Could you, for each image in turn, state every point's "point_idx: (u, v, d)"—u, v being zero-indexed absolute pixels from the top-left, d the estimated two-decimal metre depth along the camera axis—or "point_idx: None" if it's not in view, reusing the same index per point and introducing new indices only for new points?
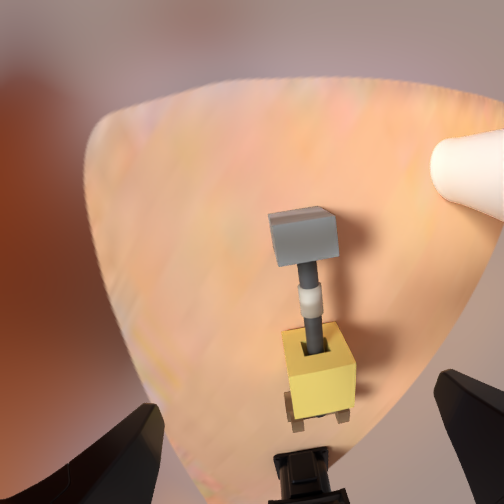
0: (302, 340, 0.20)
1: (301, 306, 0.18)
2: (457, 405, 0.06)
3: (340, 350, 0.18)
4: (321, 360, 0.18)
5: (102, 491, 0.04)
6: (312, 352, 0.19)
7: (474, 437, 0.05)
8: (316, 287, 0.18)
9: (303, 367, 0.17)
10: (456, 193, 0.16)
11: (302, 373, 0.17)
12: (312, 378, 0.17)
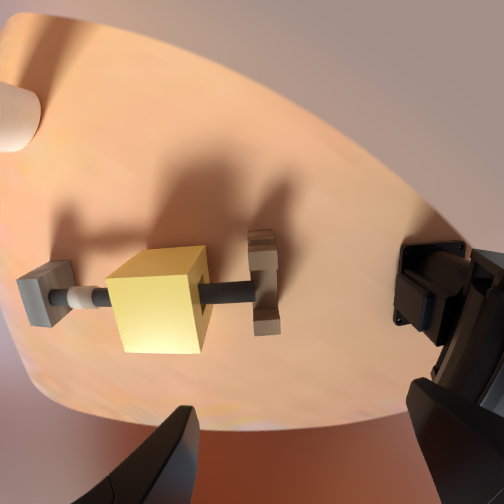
0: None
1: (88, 308, 0.16)
2: (427, 416, 0.06)
3: None
4: None
5: (148, 502, 0.04)
6: None
7: (445, 451, 0.05)
8: (68, 295, 0.16)
9: None
10: (6, 141, 0.13)
11: None
12: (126, 329, 0.14)
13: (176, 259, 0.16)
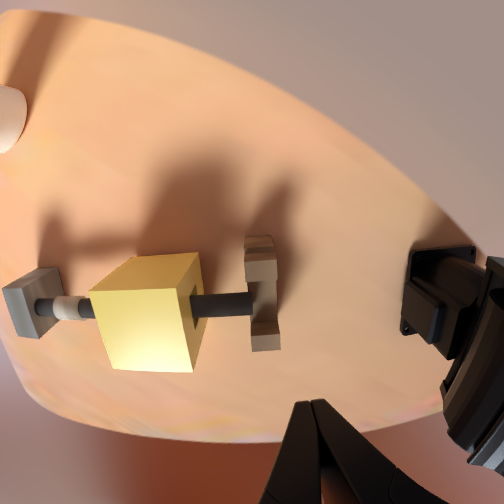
0: None
1: (75, 319, 0.15)
2: None
3: None
4: None
5: None
6: None
7: None
8: (54, 305, 0.14)
9: None
10: None
11: None
12: (112, 345, 0.12)
13: (165, 269, 0.14)
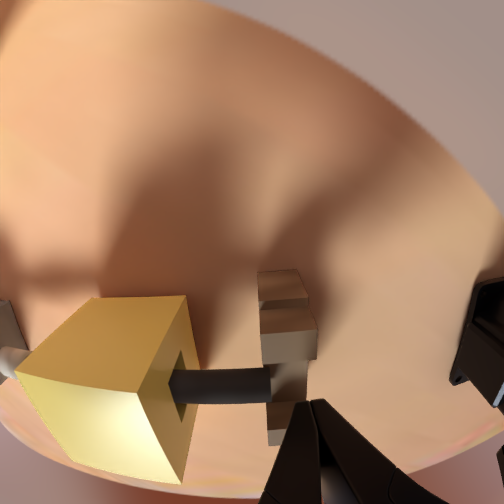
0: None
1: None
2: None
3: None
4: None
5: None
6: None
7: None
8: None
9: None
10: None
11: None
12: (63, 440, 0.06)
13: (129, 335, 0.08)
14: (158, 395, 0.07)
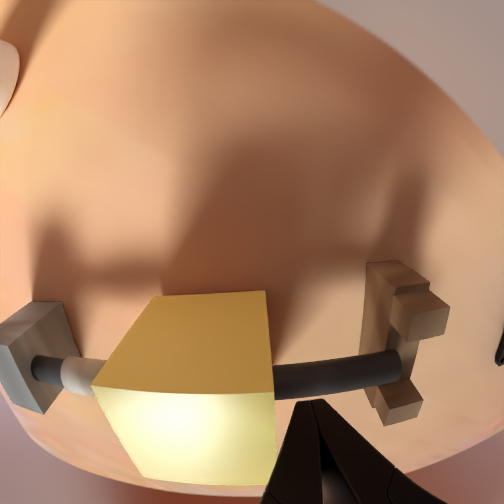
0: None
1: None
2: None
3: None
4: None
5: None
6: None
7: None
8: (63, 374, 0.08)
9: None
10: None
11: None
12: (142, 456, 0.06)
13: (227, 333, 0.08)
14: None
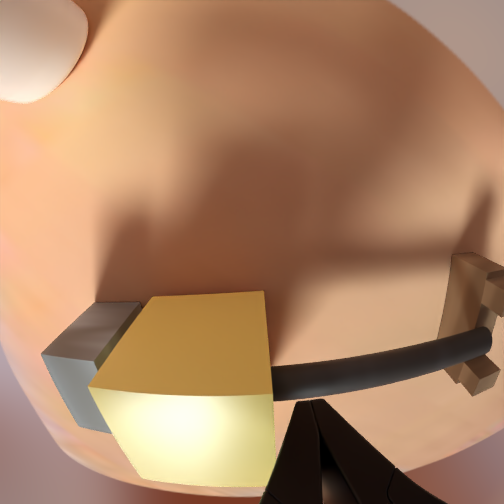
0: None
1: None
2: None
3: None
4: None
5: None
6: (324, 395, 0.08)
7: None
8: None
9: None
10: (18, 68, 0.06)
11: None
12: (140, 458, 0.06)
13: (225, 334, 0.08)
14: None
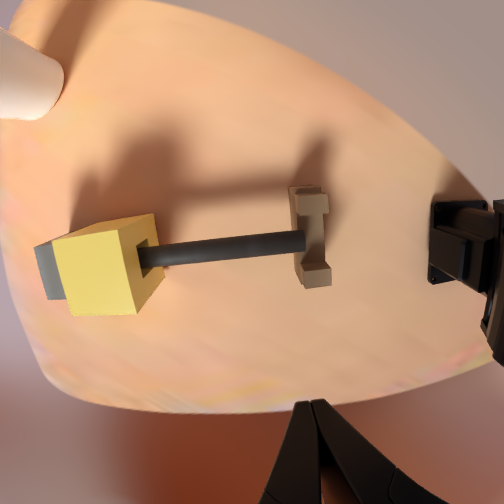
0: None
1: None
2: None
3: None
4: None
5: None
6: (171, 262, 0.15)
7: None
8: None
9: None
10: (28, 104, 0.13)
11: None
12: (70, 291, 0.13)
13: (118, 223, 0.15)
14: (129, 244, 0.14)
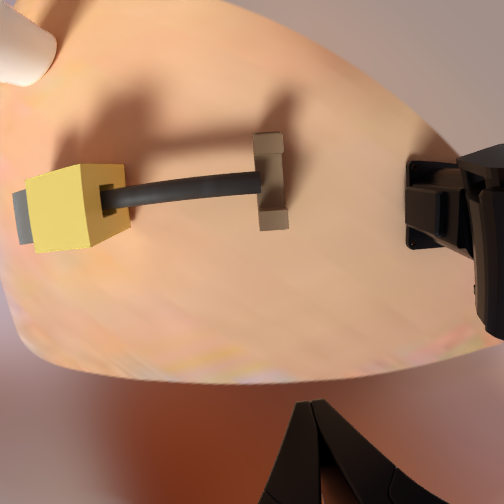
0: None
1: None
2: None
3: None
4: None
5: None
6: (130, 202, 0.15)
7: None
8: None
9: None
10: (22, 68, 0.12)
11: None
12: (36, 228, 0.13)
13: None
14: (91, 181, 0.13)
